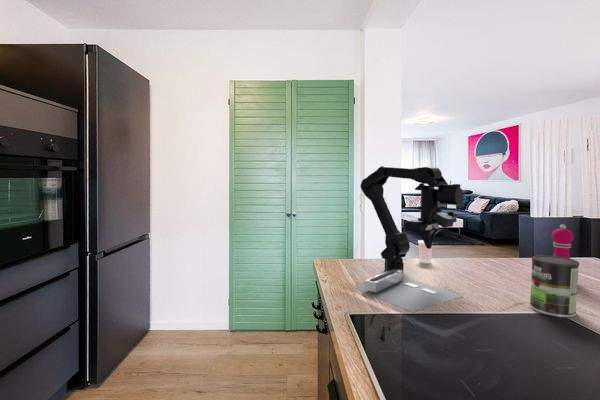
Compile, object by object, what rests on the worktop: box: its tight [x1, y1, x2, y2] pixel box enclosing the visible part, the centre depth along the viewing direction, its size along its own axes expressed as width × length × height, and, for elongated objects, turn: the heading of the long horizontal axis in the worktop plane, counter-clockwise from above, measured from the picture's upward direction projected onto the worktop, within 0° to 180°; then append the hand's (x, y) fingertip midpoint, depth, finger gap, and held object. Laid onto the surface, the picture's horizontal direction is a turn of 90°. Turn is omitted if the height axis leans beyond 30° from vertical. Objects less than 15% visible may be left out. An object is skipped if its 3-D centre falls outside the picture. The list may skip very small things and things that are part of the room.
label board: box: [352, 276, 464, 313], centre depth 104 cm, size 24×23×1 cm
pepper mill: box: [551, 223, 575, 259], centre depth 116 cm, size 7×7×20 cm
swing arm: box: [364, 269, 404, 293], centre depth 109 cm, size 19×4×3 cm, turn 135°
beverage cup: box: [417, 239, 433, 264], centre depth 144 cm, size 6×6×14 cm
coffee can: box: [529, 254, 580, 318], centre depth 91 cm, size 10×10×14 cm
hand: (428, 248), depth 115 cm, fingers closed
